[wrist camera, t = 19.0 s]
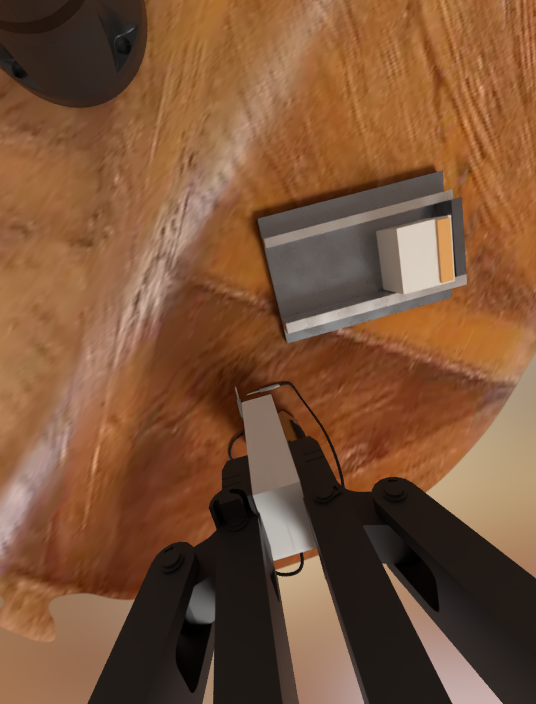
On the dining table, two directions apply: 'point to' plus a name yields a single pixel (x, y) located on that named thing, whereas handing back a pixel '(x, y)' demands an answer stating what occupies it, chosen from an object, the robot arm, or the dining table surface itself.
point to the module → (416, 255)
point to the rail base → (351, 255)
